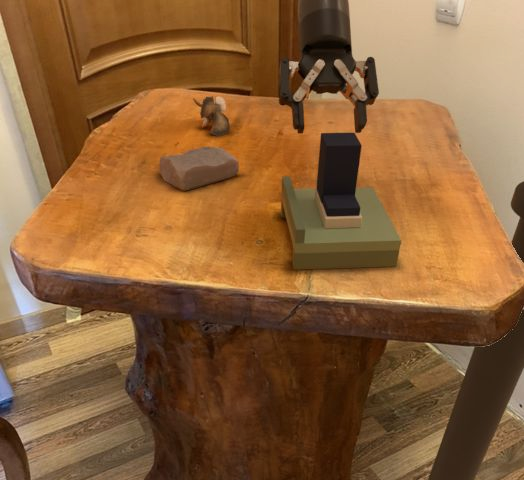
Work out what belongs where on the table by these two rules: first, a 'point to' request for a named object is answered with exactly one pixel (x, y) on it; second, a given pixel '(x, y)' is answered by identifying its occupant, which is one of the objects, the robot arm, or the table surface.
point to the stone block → (198, 167)
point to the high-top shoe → (338, 180)
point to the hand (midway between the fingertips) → (330, 130)
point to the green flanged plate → (338, 233)
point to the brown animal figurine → (214, 114)
